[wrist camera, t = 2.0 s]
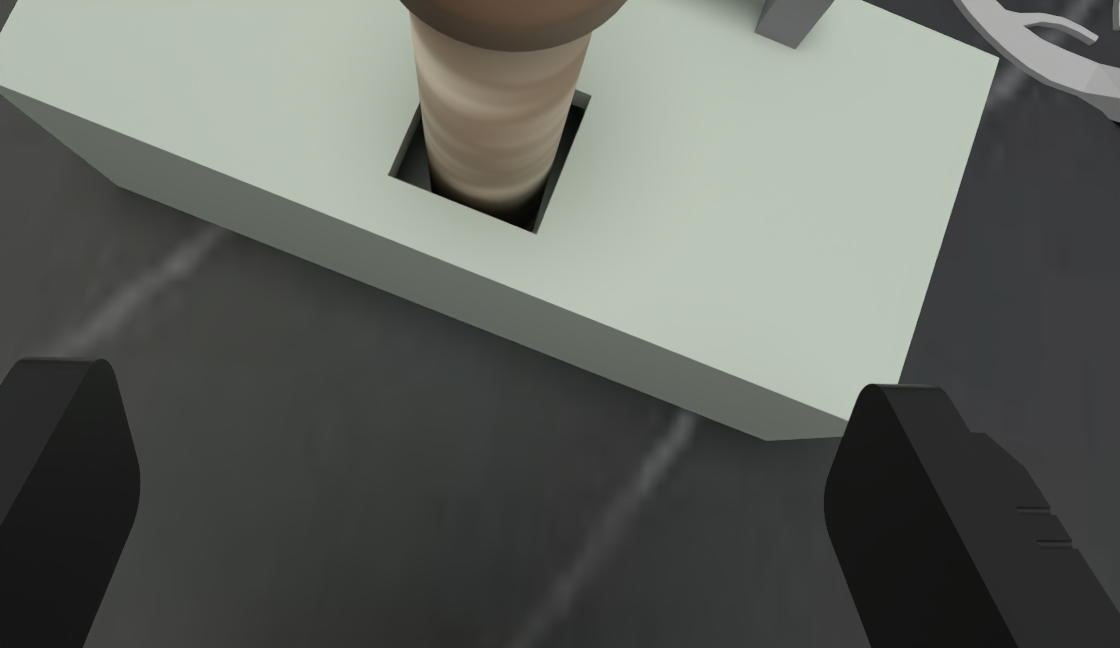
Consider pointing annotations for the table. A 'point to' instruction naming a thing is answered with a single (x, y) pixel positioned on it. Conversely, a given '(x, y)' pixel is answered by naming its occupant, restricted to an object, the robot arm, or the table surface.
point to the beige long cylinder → (498, 94)
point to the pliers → (1048, 52)
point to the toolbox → (562, 177)
